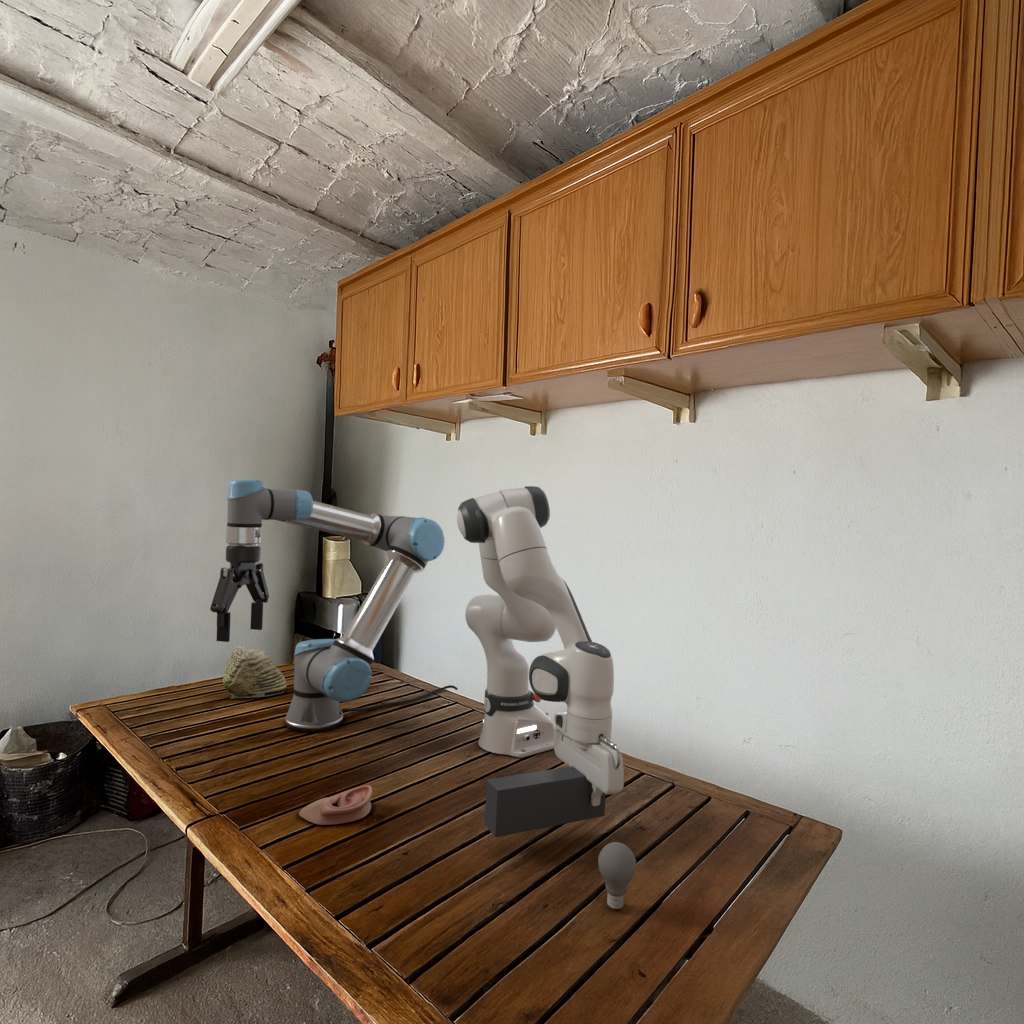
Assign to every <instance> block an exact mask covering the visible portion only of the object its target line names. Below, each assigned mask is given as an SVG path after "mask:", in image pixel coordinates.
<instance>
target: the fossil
mask: <svg viewBox="0 0 1024 1024" xmlns="http://www.w3.org/2000/svg"><path fill="white" fill-rule="evenodd" d="M222 676H223V677H222V685H223V687H224V688H225V690H226V691H228V693H229V698H230V699H250V698H264V697H271V696H275V695H281V694H284V693H285V691H286V689H287V687H288V686H287V680H286V678H285V676H284V674H283V673H282V672H281V669H279V668H278V667H277V665H276V663H275V662H274V660H273V659H272V658H271V657H270V656H269V655H268V654H267V653H266V652H265V650H264V649H263V648H260V647H258V648H251V647H247V646H246V647H245V646H238V647H237V648H236V649H235V650H233V651H232V653H231V656H230V657H229V659H228V660H227V663H226V666H225V668H224V671H223V675H222Z"/></svg>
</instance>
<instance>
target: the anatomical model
mask: <svg viewBox="0 0 1024 1024" xmlns="http://www.w3.org/2000/svg"><path fill="white" fill-rule="evenodd" d="M372 795H373V787H372V786H371V785H369V784H367V785H366V784H365V785H361V786H356V787H354V788H351V789H350V788H349V789H347V790H345V791H341V792H340V793H337V794H334V795H332V796H329V797H328V796H327V797H323V798H320V799H317V800H315V801H313V802H311V803H309V804H307V805H306V806H304V807H303V808H301V809H300V810H299V812H298V815H299V817H300V818H302V819H304V820H306V821H307V822H310V823H311V824H315V825H319V826H328V825H339V824H346V823H351V822H354V821H357V820H361V819H363V818H365V817H366V816H367V815H368V814H369V813H370V812H371V809H372V803H371V798H372V797H373V796H372Z"/></svg>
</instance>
